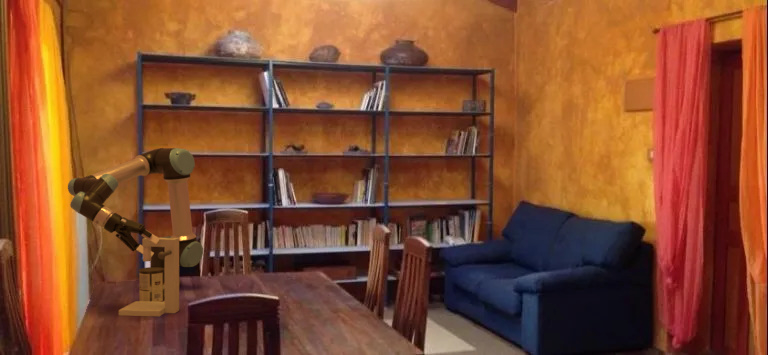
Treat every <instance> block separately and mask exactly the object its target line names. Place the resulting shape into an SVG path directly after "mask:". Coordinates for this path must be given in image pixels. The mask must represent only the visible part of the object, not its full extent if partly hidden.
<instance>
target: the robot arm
mask: <svg viewBox="0 0 768 355" xmlns="http://www.w3.org/2000/svg"><path fill="white" fill-rule="evenodd" d="M133 158H134V159H131V160H129V161H125V162H123V163H120V164H117V165H114V166H112V167H109V168H106V169H104V170H101V171H98V172H96V173H92V174H89V175H87V176H84V177H75V178H72V179H70V180H69V182H68V184H67V190H68V193H69V194H70V195H72V196H74V197H72V200H71V201H70V204H69V205H70V206H69V207H70V208H71V209H72V210H74V211H75V212H76V213H78V214H79V215H82V216H83V217H84V218H86V219H88V220H90V221H92V222H93V223H94V224H95V225H97V226H99V227H101V228H103V229H104V230H106V231H107V232H109V233H110V234H111V233H112V234H113V233H114V232H116V234H115V235H114V236H115V237H116V238H117V239H119V240H120V241H121V242H122V243H123V244H124V245H125V246H126V247H127V248H129V250H131V251H132V252H134V251H136V252H138V253H140V254H141V255H143V244H141V243H138V241H136V239H135V238H134V237H133V236H132V233H133V234H139V236H141V237H143V239H144V238H146V239H148V240H149V241H151V242H152V243H154V244H157V243H158V241H159V240H160V238H179V267H184V268H191V267H192V268H193V267H195V266H197V265H198V264H199V263H200V262H201V259H203V255H204V248H203V244H201V243H200V242H199V241H198V240H197V235H196V234H195V233H194V232H193V224H192V223H193V222H192V216H191V205H190V202H191V201H190V193H189V184H188V180H190V178H191V174H192V173H193V171H194V169H195V166H196V165H195V164H196V162H195V158H194V156H193V154H192V153H191V151H189V150H187V149H185V148H180V147H173V148H172V147H170V148H169V147H165V148H164V147H161V148H155V149H152V150H149V151H147V152H143V153H141V154H138V155H136V156H135V157H133ZM153 174H154V175H155V174H160V175H161V174H162V175H163V176H162V177H163V181H165V182H166V183H167V190H168V198H169V199H168V200H169V209H170V217H171V218H170V219H171V226H172V227H171V229H172V235H170V236H169V235H166V236H157V235H155V234H153V233H152V232H150V231H148V230H147V229H146V227H145V224H143V223H141V222H140V223H139V222H136V221H133V220H130V219H128V218H126V217H123V216H121V215H120V214H118V213H117V212H114V210H112V209H111V208H109V207H108V206H106V205H104V204H105V203H106V201H107V200H108V199H109V198H110V196H111V195H112V194H114V192H115V191H116V190H117V188H118V187H119V184H121V183H124V182H126V181H129V180H131V179H135V178H137V177H139V176H142V177H145V176H148V175H153ZM160 252H165V247H151V261H149V263H150V264H149V265H150V266H149V267H162V268H165V258H164V259H160V258H159V257H158V254H159V253H160ZM180 286H181V278H180V277H179V287H180Z"/></svg>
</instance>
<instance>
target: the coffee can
mask: <svg viewBox="0 0 768 355" xmlns="http://www.w3.org/2000/svg"><path fill="white" fill-rule="evenodd" d="M138 274H139V275H138V276H139V277H138V280H139V286H138V287H139V301H152V302H165V268H162V267H150V266H149V267H142V268H139V269H138Z"/></svg>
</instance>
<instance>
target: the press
mask: <svg viewBox="0 0 768 355" xmlns="http://www.w3.org/2000/svg"><path fill="white" fill-rule="evenodd" d="M141 240H142V244H141V245H142V246H143V254H142V261H143V262H145V263H146V262H150V261H151V247H165V252H160V253H159V254H158V257H159V258H160V259H164V258H165V302H152V301H140V300H137V301H136V300H135V301H133V302H132V303H129V304H128V305H126V306H124V307H122V308H120V309H118V316H126V317H127V316H131V317H132V316H135V317H161V316H162V315H164V314H176V313H177V312H179V311H180V286H179V278H180V266H179V238H160V240H159V241H158V243H157V244H154V243H152V242H151V241H149V240H148V239H146V238H144V237H143V238H142V239H141Z"/></svg>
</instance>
